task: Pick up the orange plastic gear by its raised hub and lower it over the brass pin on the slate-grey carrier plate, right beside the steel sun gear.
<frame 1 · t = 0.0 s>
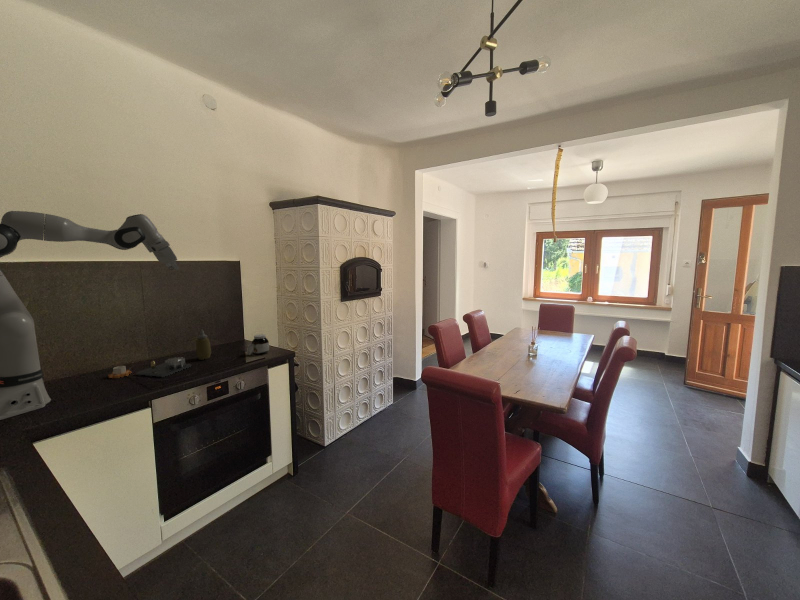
hand: (174, 269, 167), 54 cm above the worktop, tool tilted 30°, fingers open, 8 cm apart
spread jar: (257, 354, 206), on the worktop
squeeze bottle: (204, 358, 196), on the worktop
carrier: (165, 370, 174), on the worktop
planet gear: (120, 375, 167), on the worktop
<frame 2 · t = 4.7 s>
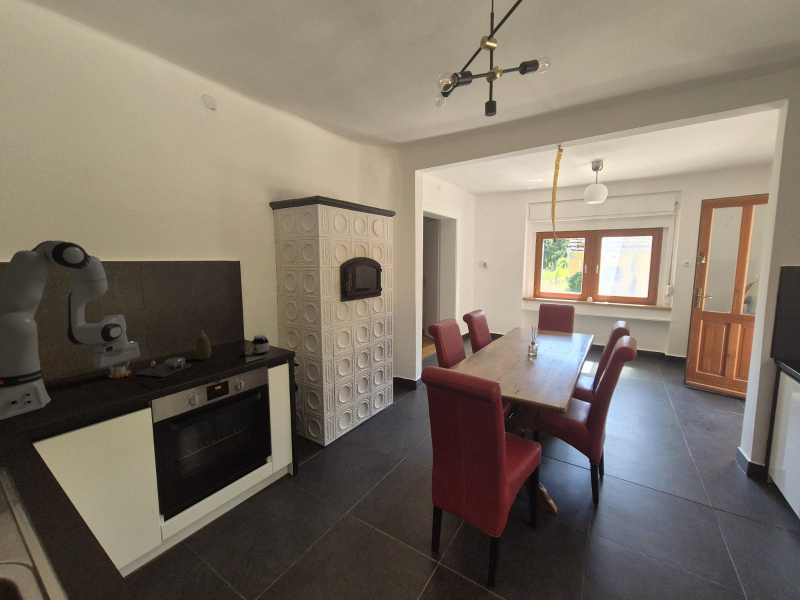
hand: (119, 370, 167), 3 cm above the worktop, tool pointing down, fingers closed on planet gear, 5 cm apart
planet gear: (120, 375, 167), on the worktop, touching gripper
everything else where it was.
when the fingers open (5 cm above the worktop, at t = 11.2 s): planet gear stays where it is, resting on carrier.
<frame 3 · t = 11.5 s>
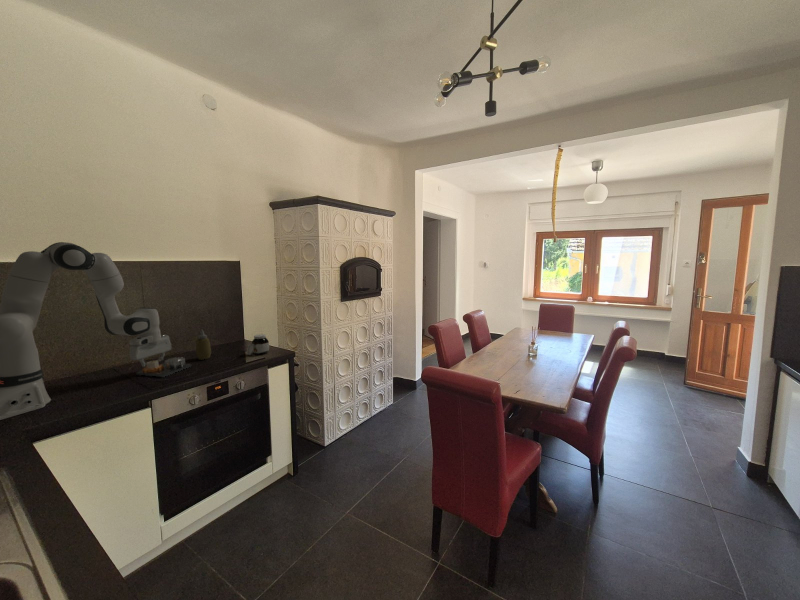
hand: (153, 363, 171), 5 cm above the worktop, tool pointing down, fingers open, 8 cm apart
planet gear: (153, 369, 171), point 1 cm above the worktop, touching carrier
everything else where it was.
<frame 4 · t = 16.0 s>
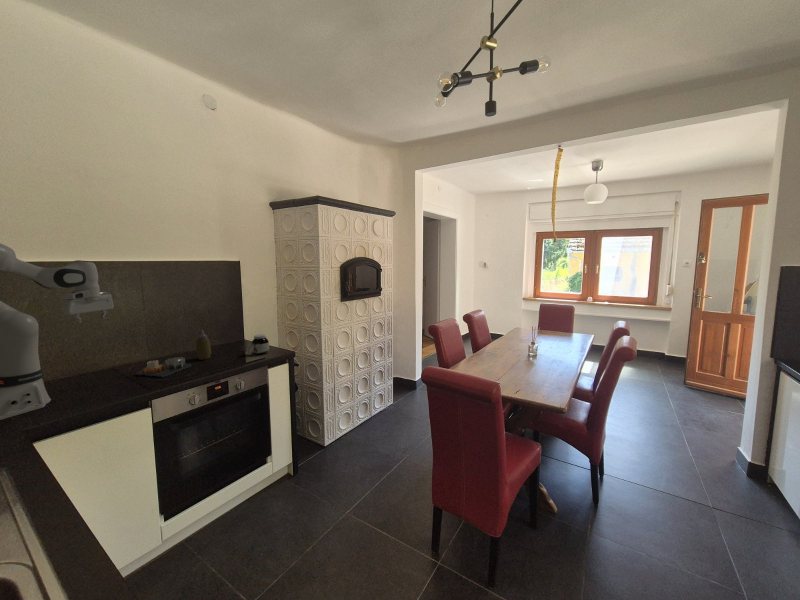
hand: (91, 320, 162), 29 cm above the worktop, tool pointing down, fingers open, 8 cm apart
nothing on the worktop moved.
at the end: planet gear 0.1 cm from the target spot on the carrier, point 1.5 cm above the carrier's base; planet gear tilted 0°; the gripper is holding nothing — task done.
